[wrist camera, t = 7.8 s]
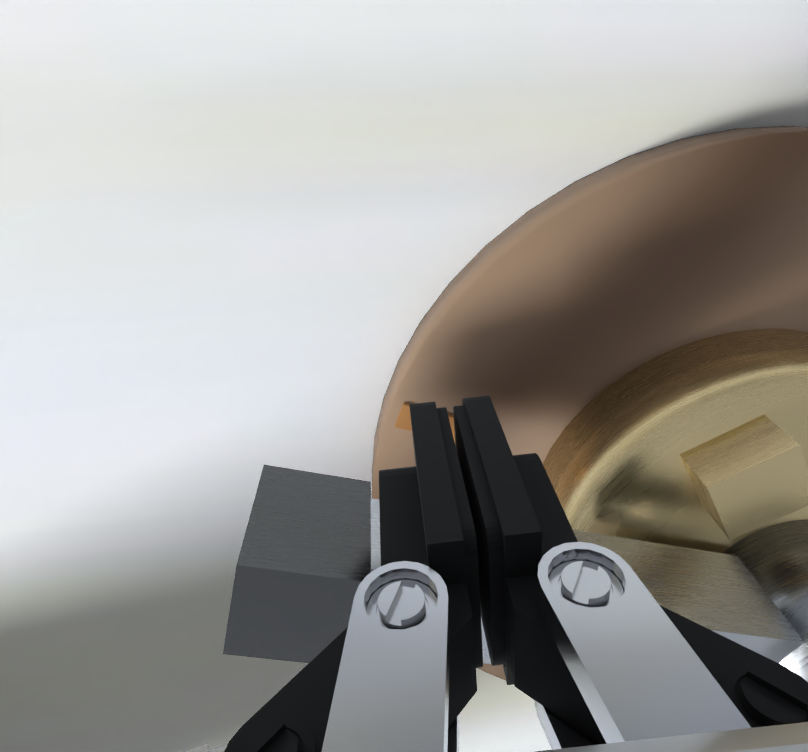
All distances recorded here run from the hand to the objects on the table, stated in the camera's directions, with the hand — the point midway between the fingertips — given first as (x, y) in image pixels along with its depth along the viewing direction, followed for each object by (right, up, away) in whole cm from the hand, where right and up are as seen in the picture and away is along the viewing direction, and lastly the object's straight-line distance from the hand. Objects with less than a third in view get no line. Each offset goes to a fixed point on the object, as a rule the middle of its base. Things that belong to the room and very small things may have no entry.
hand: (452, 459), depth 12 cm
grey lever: (+5, -2, +6) cm, 8 cm away
